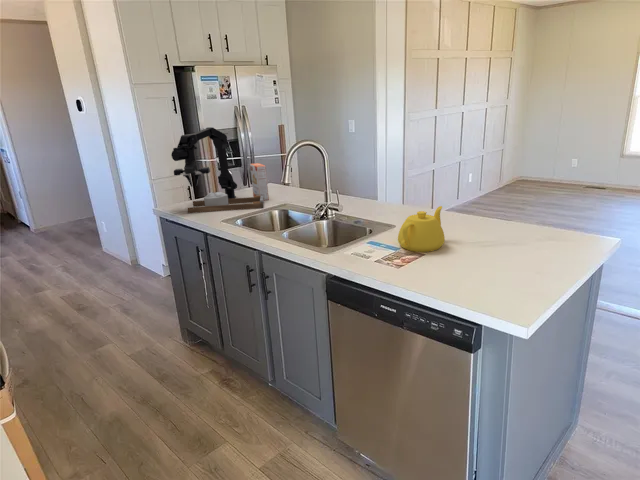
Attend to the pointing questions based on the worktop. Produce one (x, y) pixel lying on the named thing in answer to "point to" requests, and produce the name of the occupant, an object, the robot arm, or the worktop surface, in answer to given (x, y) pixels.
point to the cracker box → (259, 180)
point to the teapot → (422, 232)
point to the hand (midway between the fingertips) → (194, 186)
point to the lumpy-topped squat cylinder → (216, 199)
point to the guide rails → (252, 204)
